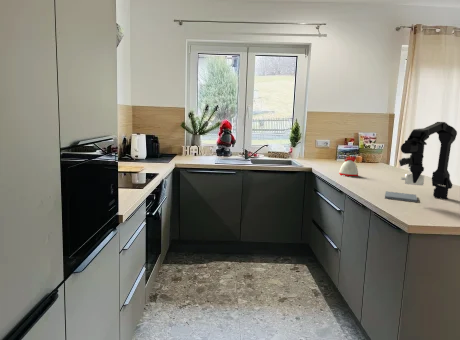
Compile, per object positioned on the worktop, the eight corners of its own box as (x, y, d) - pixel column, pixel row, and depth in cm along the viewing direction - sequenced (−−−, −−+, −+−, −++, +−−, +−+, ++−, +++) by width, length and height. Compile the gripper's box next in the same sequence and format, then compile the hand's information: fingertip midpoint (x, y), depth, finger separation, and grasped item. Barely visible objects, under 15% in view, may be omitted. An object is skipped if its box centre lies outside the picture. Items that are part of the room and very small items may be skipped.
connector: (422, 184, 195) (424, 175, 194) (423, 185, 192) (424, 176, 191) (400, 182, 199) (401, 173, 199) (400, 183, 196) (401, 174, 195)
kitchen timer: (359, 177, 274) (361, 157, 272) (340, 176, 276) (342, 156, 274) (356, 174, 288) (357, 155, 285) (338, 173, 290) (339, 154, 288)
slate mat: (415, 196, 209) (415, 194, 209) (417, 202, 195) (417, 199, 194) (385, 193, 215) (385, 191, 215) (384, 198, 201) (385, 196, 201)
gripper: (399, 150, 204) (397, 178, 207) (401, 153, 187) (398, 183, 190) (422, 152, 200) (419, 180, 202) (425, 155, 183) (422, 185, 185)
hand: (414, 182), depth 195 cm, fingers closed on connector, 4 cm apart
